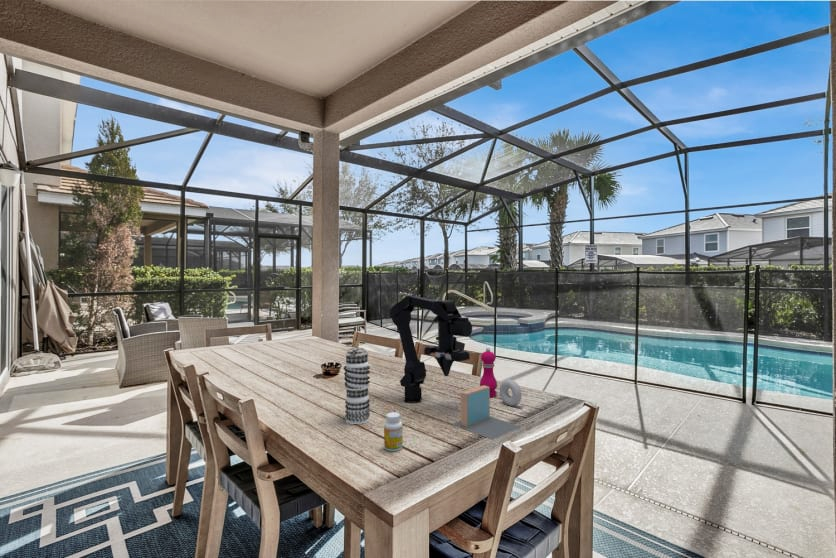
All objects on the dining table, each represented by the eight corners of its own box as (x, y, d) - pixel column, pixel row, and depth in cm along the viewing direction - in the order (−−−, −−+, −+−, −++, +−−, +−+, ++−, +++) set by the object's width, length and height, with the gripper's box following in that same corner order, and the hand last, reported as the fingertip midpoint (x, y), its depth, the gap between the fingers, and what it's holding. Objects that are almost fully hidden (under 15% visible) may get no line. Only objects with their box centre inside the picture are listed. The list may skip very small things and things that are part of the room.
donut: (523, 408, 143) (523, 381, 143) (517, 410, 141) (517, 383, 141) (503, 401, 152) (503, 376, 152) (497, 402, 150) (497, 377, 150)
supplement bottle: (384, 444, 114) (383, 411, 114) (402, 443, 114) (401, 411, 114) (384, 452, 109) (383, 418, 109) (403, 451, 109) (402, 417, 109)
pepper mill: (497, 398, 155) (496, 349, 155) (479, 397, 157) (479, 349, 157) (497, 393, 162) (496, 346, 162) (480, 392, 164) (479, 345, 164)
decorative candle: (349, 427, 127) (347, 352, 127) (341, 418, 135) (340, 348, 135) (374, 421, 131) (373, 349, 131) (365, 413, 140) (364, 345, 140)
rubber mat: (451, 425, 128) (451, 423, 128) (480, 414, 138) (480, 413, 138) (492, 441, 115) (492, 439, 115) (520, 427, 125) (520, 426, 125)
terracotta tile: (461, 425, 126) (460, 392, 126) (484, 416, 134) (483, 385, 134) (467, 427, 125) (466, 394, 124) (490, 418, 132) (489, 386, 132)
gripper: (479, 334, 140) (479, 376, 140) (443, 329, 154) (444, 368, 154) (458, 337, 132) (459, 382, 132) (423, 332, 146) (423, 373, 146)
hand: (446, 376), depth 141 cm, fingers closed
